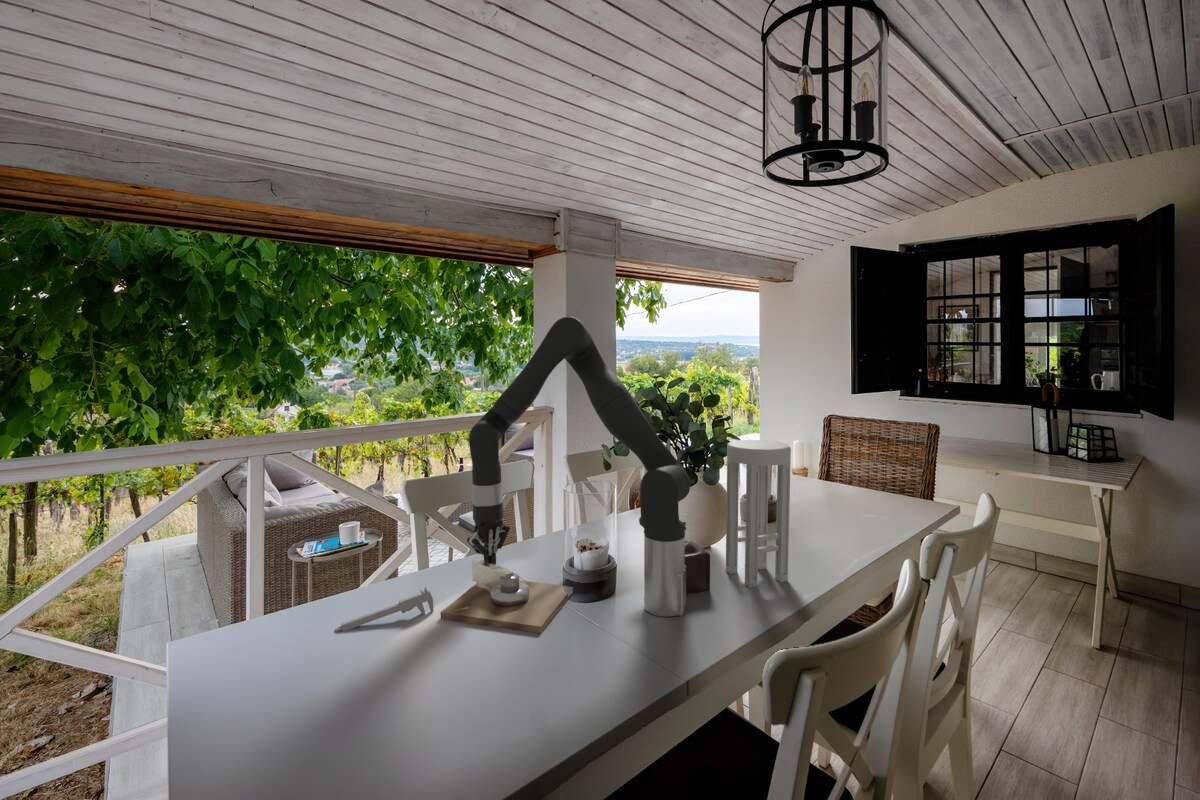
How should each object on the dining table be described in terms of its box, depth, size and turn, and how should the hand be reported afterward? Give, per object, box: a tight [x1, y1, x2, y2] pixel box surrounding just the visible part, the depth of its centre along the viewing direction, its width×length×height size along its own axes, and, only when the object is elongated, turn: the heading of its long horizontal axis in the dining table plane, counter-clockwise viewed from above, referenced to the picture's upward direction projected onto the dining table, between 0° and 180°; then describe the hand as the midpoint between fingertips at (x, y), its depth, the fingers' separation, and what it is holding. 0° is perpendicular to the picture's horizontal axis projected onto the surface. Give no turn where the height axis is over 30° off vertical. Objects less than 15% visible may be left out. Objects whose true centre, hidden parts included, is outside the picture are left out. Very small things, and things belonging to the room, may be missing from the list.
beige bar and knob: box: [471, 558, 530, 606], centre depth 136 cm, size 18×9×6 cm, turn 50°
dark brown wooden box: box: [638, 516, 711, 595], centre depth 143 cm, size 16×11×18 cm
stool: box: [725, 439, 792, 588], centre depth 148 cm, size 16×16×35 cm
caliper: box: [334, 586, 434, 633], centre depth 126 cm, size 20×1×6 cm, turn 115°
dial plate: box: [439, 579, 569, 634], centre depth 134 cm, size 24×21×2 cm
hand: (490, 568), depth 143 cm, fingers closed
